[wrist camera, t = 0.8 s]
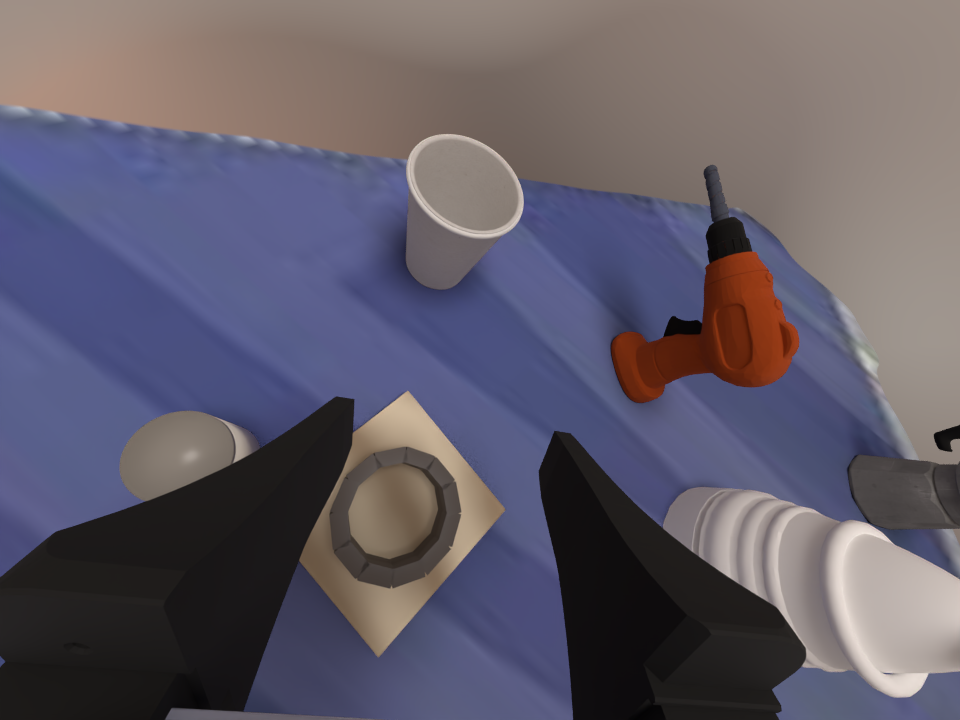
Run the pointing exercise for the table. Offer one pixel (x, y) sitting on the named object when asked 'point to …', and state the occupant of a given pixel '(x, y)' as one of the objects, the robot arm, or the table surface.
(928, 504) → the coffeepot
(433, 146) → the dixie cup
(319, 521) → the square plate with ring
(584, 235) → the table surface
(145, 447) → the grey cylinder
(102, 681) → the robot arm
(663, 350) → the toy drill
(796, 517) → the honey pot
